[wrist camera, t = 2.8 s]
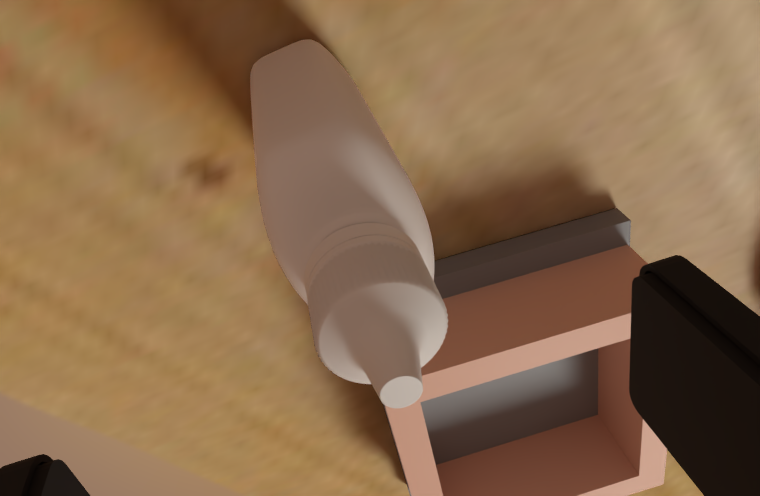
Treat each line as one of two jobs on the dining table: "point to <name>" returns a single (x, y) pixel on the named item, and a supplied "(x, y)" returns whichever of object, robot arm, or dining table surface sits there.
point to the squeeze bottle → (345, 223)
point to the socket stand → (533, 372)
